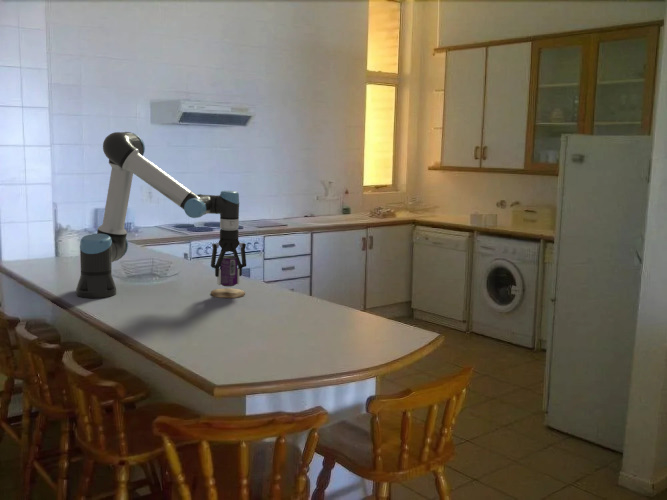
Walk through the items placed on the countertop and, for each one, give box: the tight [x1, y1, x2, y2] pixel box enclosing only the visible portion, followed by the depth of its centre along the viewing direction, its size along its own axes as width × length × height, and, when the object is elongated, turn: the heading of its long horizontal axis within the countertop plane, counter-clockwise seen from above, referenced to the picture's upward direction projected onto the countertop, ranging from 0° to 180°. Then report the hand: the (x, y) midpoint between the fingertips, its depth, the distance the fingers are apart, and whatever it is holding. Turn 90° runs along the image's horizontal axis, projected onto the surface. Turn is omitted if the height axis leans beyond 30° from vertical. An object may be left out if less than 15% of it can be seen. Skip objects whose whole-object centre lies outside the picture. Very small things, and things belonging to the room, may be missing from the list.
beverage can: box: [219, 254, 238, 288], centre depth 285 cm, size 7×7×12 cm
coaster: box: [210, 287, 246, 299], centre depth 287 cm, size 14×14×1 cm
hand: (228, 283), depth 286 cm, fingers closed on beverage can, 7 cm apart
